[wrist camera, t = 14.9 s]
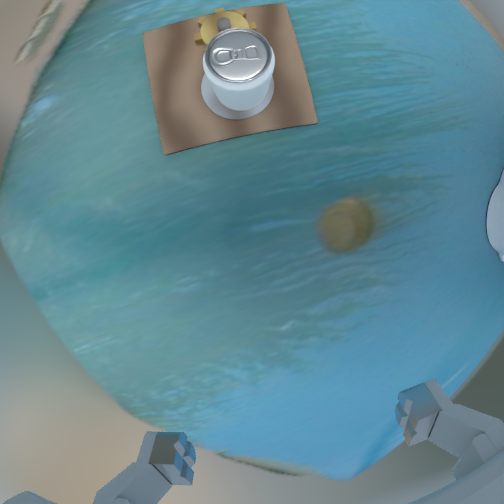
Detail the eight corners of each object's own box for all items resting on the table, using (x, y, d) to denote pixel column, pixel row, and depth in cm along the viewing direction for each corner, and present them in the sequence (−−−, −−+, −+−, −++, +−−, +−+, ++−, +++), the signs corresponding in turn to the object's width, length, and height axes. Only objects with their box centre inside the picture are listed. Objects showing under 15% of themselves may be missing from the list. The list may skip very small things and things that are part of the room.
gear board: (283, 6, 28) (288, -13, 23) (315, 124, 34) (327, 118, 29) (145, 36, 29) (131, 21, 24) (166, 155, 35) (153, 154, 30)
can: (211, 69, 30) (195, 30, 19) (263, 61, 30) (269, 19, 18) (219, 115, 32) (204, 93, 20) (271, 107, 32) (283, 81, 20)
